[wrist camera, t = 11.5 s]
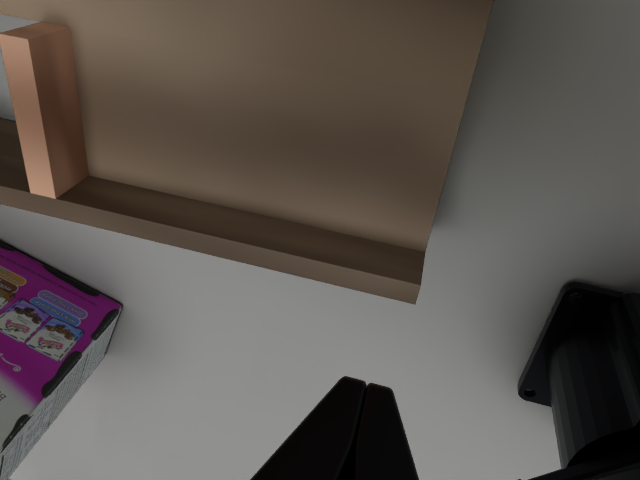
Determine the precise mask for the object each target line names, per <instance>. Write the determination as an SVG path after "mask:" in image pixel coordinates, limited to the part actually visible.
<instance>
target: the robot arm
mask: <svg viewBox="0 0 640 480" xmlns="http://www.w3.org/2000/svg"><path fill="white" fill-rule="evenodd" d="M574 293H579V294H581V295H580V296H579V297H576V298H572V297H570V295H572V294H574ZM527 389H533V390H531V391H529V390H527ZM518 394H519V396H520V397H521V398H522V399H524V400H526V401H530V402H534V403H538V404H542V405H546V406H550V407H552V412H553V418H554V425H555V431H556V437H557V444H558V450H559V457H560V463H561V469H560V470H557V471H554V472H550V473H547V474H544V475H541V476H538V477H535V478H531V479H528V480H640V294H637V293H633V292H628V293H622V292H618V291H614V290H609V289H605V288H600V287H596V286H592V285H587V284H583V283H577V282H573V283H568V284H567V285H565V286H564V287H563V288H562V290H561V292H560V294H559V296H558V298H557V300H556V303H555V305H554V307H553V309H552V311H551V313H550V316H549V318H548V320H547V322H546V324H545V326H544V329H543V331H542V333H541V335H540V337H539V339H538V342H537V344H536V346H535V348H534V350H533V352H532V355H531V357H530V359H529V361H528V363H527V365H526V368H525V370H524V372H523V374H522V376H521V378H520V381H519V383H518ZM364 395H365V396H364ZM250 480H419V478H418V475H417V471H416V468H415V465H414V461H413V458H412V454H411V451H410V447H409V444H408V441H407V437H406V434H405V430H404V427H403V424H402V420H401V417H400V413H399V410H398V407H397V403H396V400H395V396H394V393H393V391H392V389H391V388H389V387H385V386H381V385H378V384H374V383H369V384H368V385H367V387H366V382H365V381H363V380H359V379H355V378H351V377H348V376H344V377H342V378H341V379H340V380H339V381H338V382H337V383H336V384H335V385H334V387H333V388H332V389H331V390H330V391H329V392H328V393H327V394H326V395H325V397H324V398H323V399H322V400H321V401H320V402H319V403H318V404H317V406H316V407H315V408H314V409H313V410H312V411H311V412H310V413H309V415H308V416H307V417H306V418H305V419H304V420H303V421H302V422H301V423H300V425H299V426H298V427H297V428H296V429H295V430H294V431H293V432H292V434H291V435H290V436H289V437H288V438H287V439H286V440H285V441H284V443H283V444H282V445H281V446H280V447H279V448H278V449H277V450H276V451H275V453H274V454H273V455H272V456H271V457H270V458H269V459H268V460H267V462H266V463H265V464H264V465H263V466H262V467H261V468H260V469H259V470H258V472H257V473H256V474H255V475H254V476H253V477H252V478H251V479H250ZM518 480H521V479H518Z"/></svg>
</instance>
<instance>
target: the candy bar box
mask: <svg viewBox="0 0 640 480" xmlns="http://www.w3.org/2000/svg"><path fill="white" fill-rule="evenodd" d="M120 311H121V305H120V304H119V303H117V302H116V301H114V300H112V299H110V298H108V297H106V296H104V295H102V294H101V293H99V292H97V291H95V290H93V289H91V288H89V287H87V286H85V285H83V284H81V283H79V282H77V281H75V280H73V279H72V278H69V277H67V276H65V275H64V274H62V273H60V272H58V271H56V270H54V269H52V268H50V267H48V266H46V265H44V264H42V263H40V262H38V261H36V260H34V259H32V258H31V257H29V256H27V255H25V254H23V253H21V252H19V251H17V250H15V249H13V248H11V247H9V246H7V245H5V244H3V243H1V242H0V480H8V478H9V477H10V476H11V474H12V473H13V472H14V471H15V469H16V468H17V467H18V466H19V464H20V463H21V462H22V461H23V459H24V458H25V457H26V456H27V454H28V453H29V452H30V450H31V449H32V448H33V446H34V445H35V444H36V443H37V442H38V440H39V439H40V438H41V436H42V435H43V434H44V433H45V431H46V430H47V429H48V428H49V427H50V425H51V424H52V423H53V421H54V420H55V419H56V418H57V417H58V415H59V414H60V413H61V411H62V410H63V409H64V407H65V406H66V405H67V404H68V403H69V401H70V400H71V399H72V398H73V396H74V395H75V394H76V393H77V391H78V390H79V389H80V387H81V386H82V385H83V383H84V382H85V381H86V380H87V378H88V377H89V376H90V375H91V373H92V372H93V371H94V370H95V368H96V367H97V366H98V365H99V363H100V362H101V360H102V359H103V358H104V356H105V354H106V351H107V348H108V346H109V343H110V338H111V334H112V332H113V329H114V327H115V324H116V321H117V319H118V316H119V314H120Z"/></svg>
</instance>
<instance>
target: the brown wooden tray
mask: <svg viewBox="0 0 640 480" xmlns="http://www.w3.org/2000/svg"><path fill="white" fill-rule="evenodd" d="M493 1H494V0H0V14H3V15H9V16H14V17H19V18H25V19H30V20H35V21H40V23H36V24H32V25H28V26H25V27H21V28H17V29H13V30H10V31H6V32H2V33H0V45H1V50H2V55H3V60H4V65H5V70H6V75H7V80H8V85H9V90H10V95H11V100H12V104H13V109H14V114H15V119H16V122H15V121H10V120H5V119H1V118H0V204H3V205H7V206H11V207H15V208H19V209H23V210H27V211H31V212H36V213H40V214H44V215H48V216H52V217H56V218H60V219H64V220H69V221H73V222H77V223H81V224H85V225H89V226H93V227H97V228H102V229H106V230H110V231H114V232H118V233H122V234H126V235H131V236H135V237H139V238H143V239H147V240H151V241H155V242H159V243H164V244H168V245H172V246H176V247H180V248H184V249H188V250H192V251H197V252H201V253H205V254H209V255H213V256H217V257H221V258H225V259H230V260H234V261H238V262H242V263H246V264H250V265H254V266H258V267H263V268H267V269H271V270H275V271H279V272H283V273H287V274H292V275H296V276H300V277H304V278H308V279H312V280H316V281H320V282H325V283H329V284H333V285H337V286H341V287H345V288H349V289H353V290H358V291H362V292H366V293H370V294H374V295H378V296H382V297H386V298H391V299H395V300H399V301H403V302H407V303H411V304H416V300H417V297H418V293H419V290H420V286H421V279H422V272H423V265H424V257H425V251H426V248H427V244H428V240H429V237H430V233H431V229H432V225H433V222H434V218H435V214H436V211H437V207H438V203H439V200H440V196H441V192H442V189H443V185H444V181H445V178H446V174H447V170H448V167H449V163H450V159H451V155H452V152H453V148H454V144H455V141H456V137H457V133H458V130H459V126H460V122H461V119H462V115H463V111H464V108H465V104H466V100H467V97H468V93H469V89H470V85H471V82H472V78H473V74H474V71H475V67H476V63H477V60H478V56H479V52H480V49H481V45H482V41H483V38H484V34H485V30H486V27H487V23H488V19H489V16H490V12H491V8H492V4H493Z"/></svg>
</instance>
